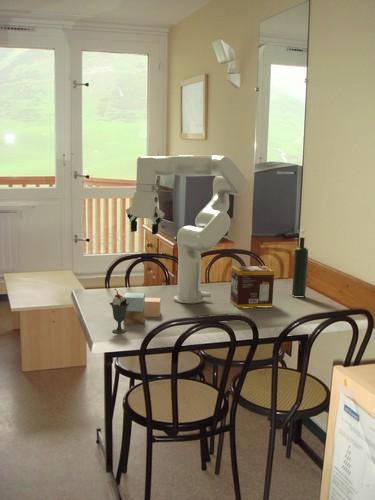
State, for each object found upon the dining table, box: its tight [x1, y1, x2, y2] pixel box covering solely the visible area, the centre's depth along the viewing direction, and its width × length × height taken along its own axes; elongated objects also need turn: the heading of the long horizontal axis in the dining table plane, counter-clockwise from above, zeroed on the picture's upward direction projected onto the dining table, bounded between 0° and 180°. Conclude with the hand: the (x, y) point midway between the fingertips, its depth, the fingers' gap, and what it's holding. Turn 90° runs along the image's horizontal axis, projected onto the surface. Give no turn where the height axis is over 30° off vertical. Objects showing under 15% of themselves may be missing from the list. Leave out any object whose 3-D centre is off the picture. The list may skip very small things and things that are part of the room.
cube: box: [144, 297, 161, 318], centre depth 229 cm, size 6×6×6 cm
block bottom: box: [122, 310, 145, 326], centre depth 219 cm, size 7×7×5 cm
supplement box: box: [229, 265, 275, 309], centre depth 248 cm, size 10×15×16 cm
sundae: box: [109, 288, 129, 335], centre depth 206 cm, size 7×7×15 cm
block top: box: [123, 292, 146, 311], centre depth 218 cm, size 7×7×5 cm
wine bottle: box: [291, 229, 309, 297], centre depth 264 cm, size 6×6×30 cm
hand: (144, 232), depth 233 cm, fingers open, 9 cm apart
